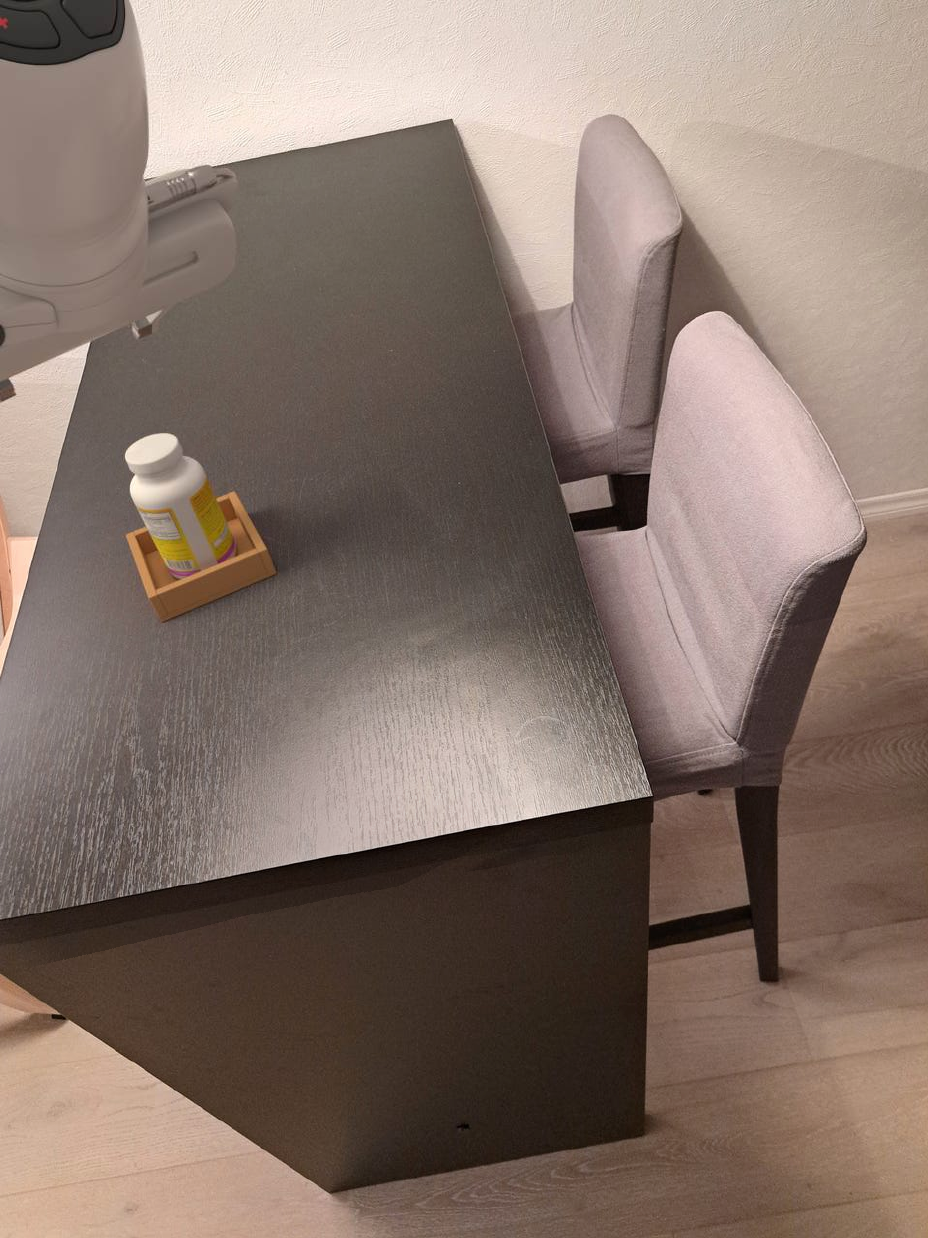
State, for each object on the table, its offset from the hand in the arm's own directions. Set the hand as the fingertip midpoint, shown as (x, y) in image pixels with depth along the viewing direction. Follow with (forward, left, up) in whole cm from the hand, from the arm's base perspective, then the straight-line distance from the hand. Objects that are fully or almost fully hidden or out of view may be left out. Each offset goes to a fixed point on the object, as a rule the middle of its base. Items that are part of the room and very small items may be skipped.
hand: (71, 357), depth 58 cm
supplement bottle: (+2, +16, -29) cm, 33 cm away
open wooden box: (+2, +16, -29) cm, 34 cm away
